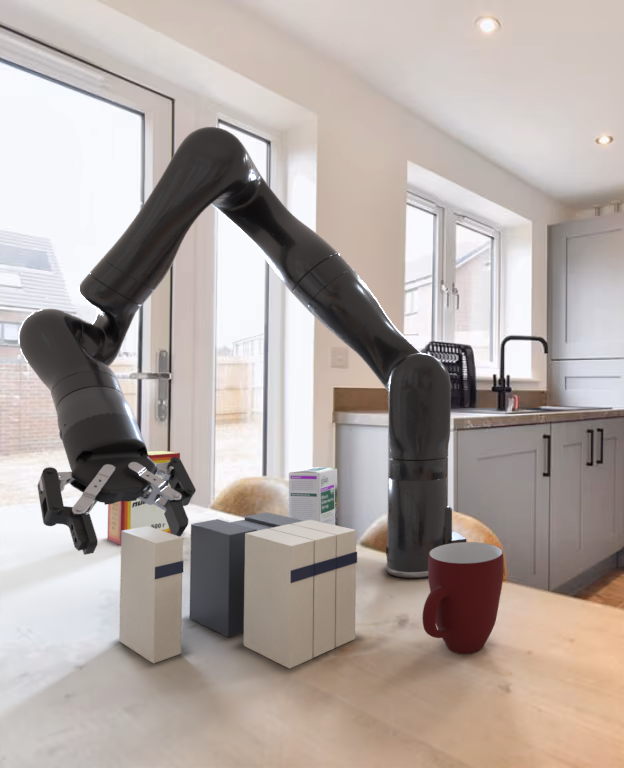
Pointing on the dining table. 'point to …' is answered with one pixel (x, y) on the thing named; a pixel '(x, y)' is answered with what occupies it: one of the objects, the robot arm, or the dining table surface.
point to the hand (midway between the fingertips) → (138, 540)
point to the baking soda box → (138, 508)
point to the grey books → (223, 570)
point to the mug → (463, 594)
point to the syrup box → (314, 495)
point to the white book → (151, 592)
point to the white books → (299, 590)
